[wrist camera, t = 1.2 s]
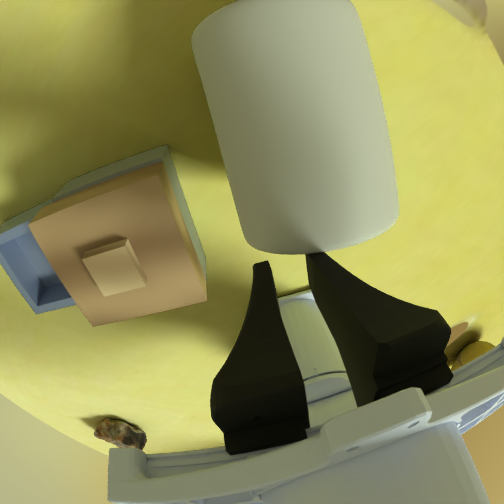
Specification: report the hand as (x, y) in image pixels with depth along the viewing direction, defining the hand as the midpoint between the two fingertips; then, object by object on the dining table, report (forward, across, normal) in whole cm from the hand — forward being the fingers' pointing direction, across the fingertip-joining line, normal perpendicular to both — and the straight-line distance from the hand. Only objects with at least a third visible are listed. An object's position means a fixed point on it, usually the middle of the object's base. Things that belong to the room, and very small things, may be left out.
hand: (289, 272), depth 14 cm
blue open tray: (+10, +17, 0) cm, 20 cm away
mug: (+7, -4, -11) cm, 13 cm away
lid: (+7, +10, 0) cm, 12 cm away
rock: (+10, +29, +33) cm, 45 cm away
